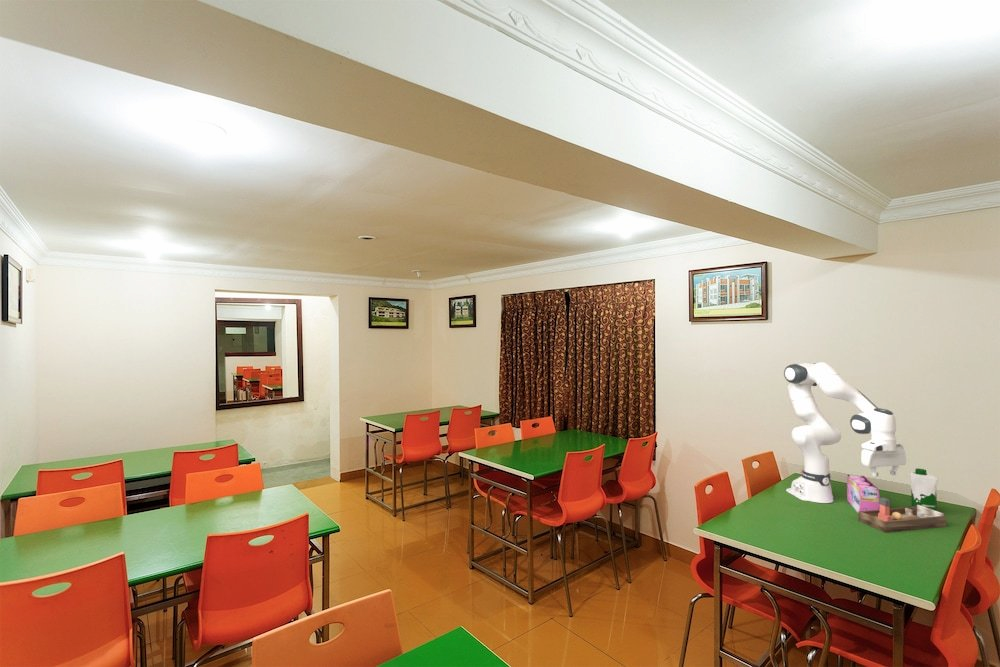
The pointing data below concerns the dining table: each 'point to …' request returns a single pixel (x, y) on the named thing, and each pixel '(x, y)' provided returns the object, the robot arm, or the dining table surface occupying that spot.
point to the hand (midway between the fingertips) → (884, 475)
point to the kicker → (884, 509)
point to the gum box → (862, 493)
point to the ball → (896, 515)
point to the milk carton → (923, 489)
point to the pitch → (904, 519)
